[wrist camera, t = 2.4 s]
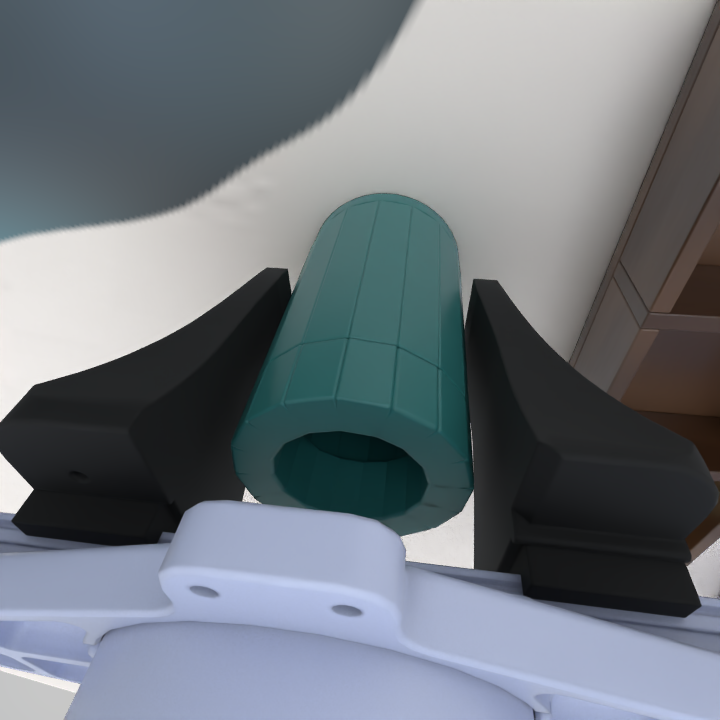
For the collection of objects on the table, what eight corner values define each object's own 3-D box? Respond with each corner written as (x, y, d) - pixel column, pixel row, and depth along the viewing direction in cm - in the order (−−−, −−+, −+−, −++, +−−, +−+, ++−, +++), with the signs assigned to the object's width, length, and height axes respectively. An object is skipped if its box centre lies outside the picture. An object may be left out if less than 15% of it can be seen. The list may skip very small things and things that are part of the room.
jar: (467, 310, 15) (485, 538, 9) (338, 328, 16) (284, 539, 11) (446, 176, 12) (453, 385, 7) (293, 211, 14) (184, 412, 8)
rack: (662, 501, 21) (688, 566, 19) (517, 487, 22) (526, 547, 20) (1108, -27, 8) (1344, -16, 6) (725, -22, 9) (817, -11, 7)
